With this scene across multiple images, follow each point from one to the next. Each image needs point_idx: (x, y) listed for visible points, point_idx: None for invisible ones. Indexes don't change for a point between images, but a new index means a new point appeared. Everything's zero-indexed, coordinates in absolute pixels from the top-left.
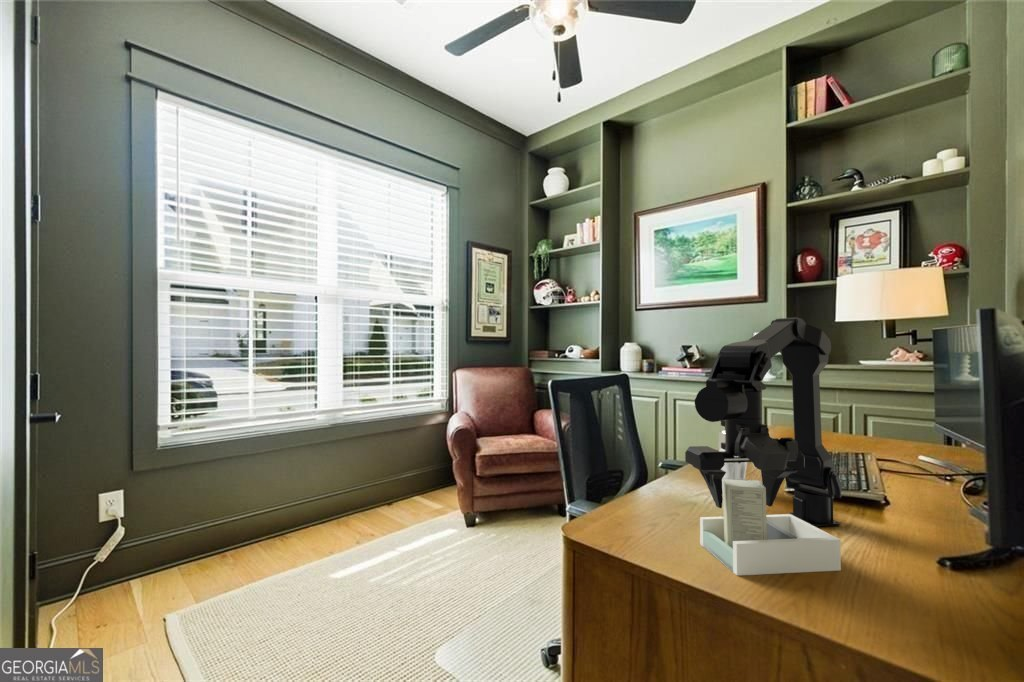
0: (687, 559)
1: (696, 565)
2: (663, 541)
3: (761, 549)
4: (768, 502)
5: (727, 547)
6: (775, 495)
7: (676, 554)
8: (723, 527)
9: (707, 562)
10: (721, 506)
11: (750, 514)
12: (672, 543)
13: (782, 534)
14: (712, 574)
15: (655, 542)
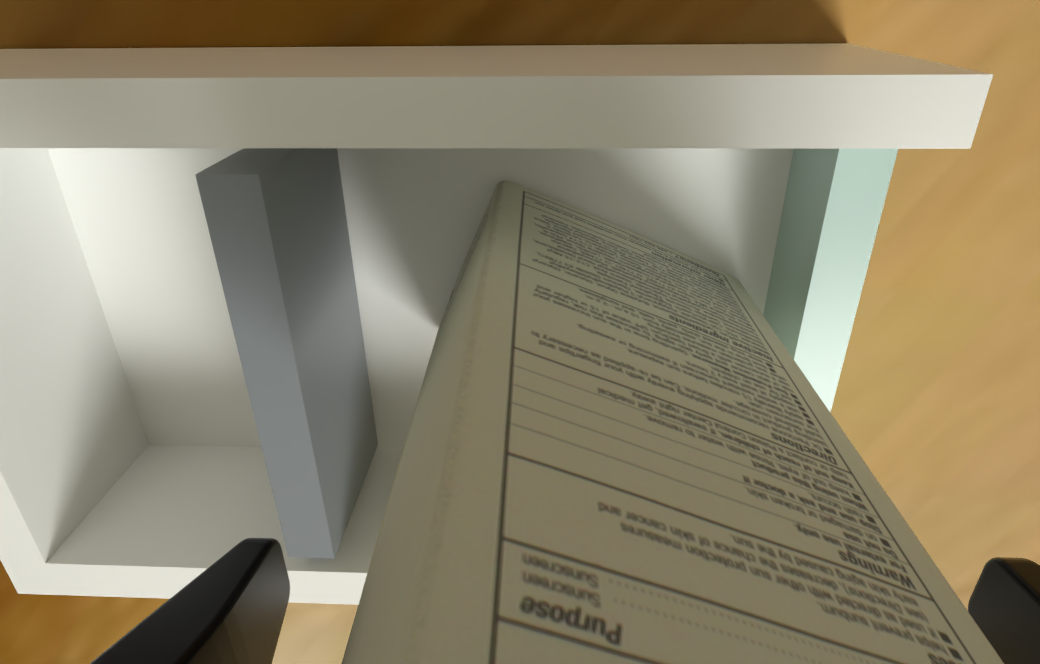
0: (1011, 304)
1: (1022, 220)
2: (964, 522)
3: (670, 66)
4: (267, 588)
5: (854, 238)
6: (118, 654)
7: (1027, 372)
8: None
9: (904, 253)
10: (1016, 571)
11: (656, 408)
12: (928, 496)
13: (290, 284)
14: (1020, 81)
15: (1027, 517)
